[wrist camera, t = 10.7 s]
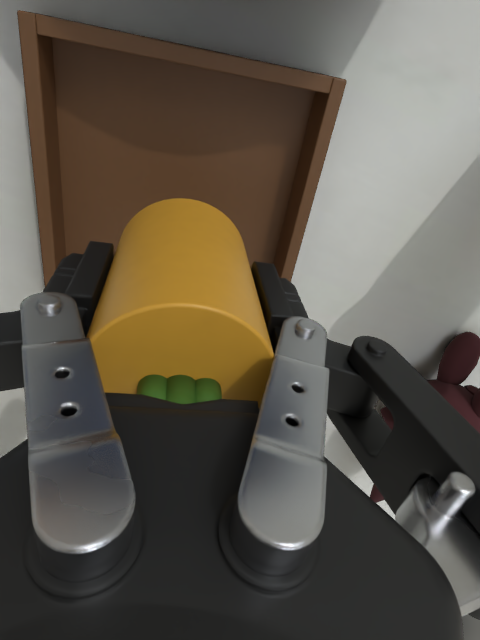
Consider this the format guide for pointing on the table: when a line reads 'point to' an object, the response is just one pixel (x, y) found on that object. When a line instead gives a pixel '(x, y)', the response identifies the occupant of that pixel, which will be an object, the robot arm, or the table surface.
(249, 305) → the pineapple
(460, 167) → the table surface
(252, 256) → the tray
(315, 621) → the robot arm
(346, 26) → the table surface
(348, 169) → the table surface
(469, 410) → the icecream
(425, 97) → the table surface
